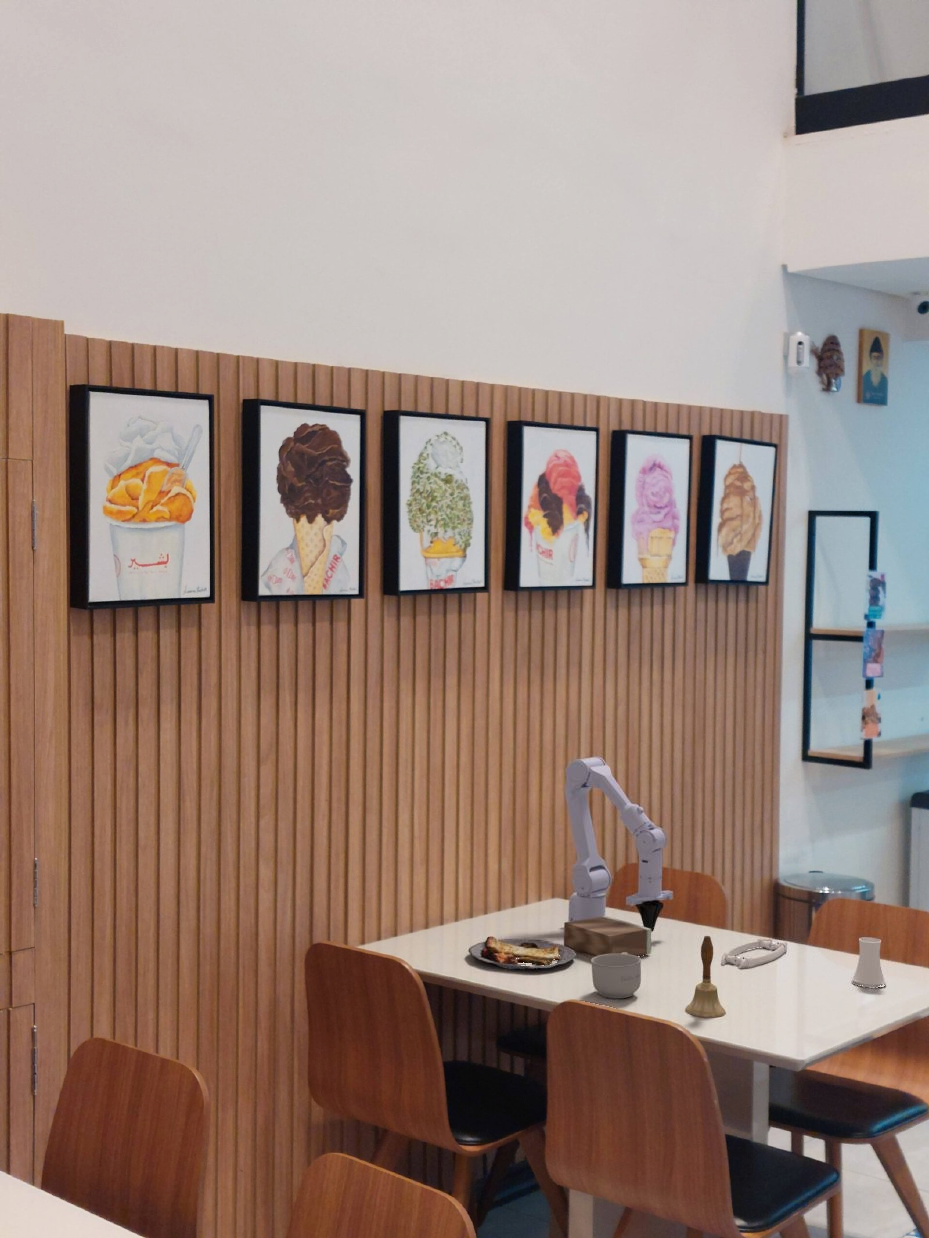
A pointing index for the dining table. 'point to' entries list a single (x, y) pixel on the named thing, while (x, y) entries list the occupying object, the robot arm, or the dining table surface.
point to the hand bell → (706, 988)
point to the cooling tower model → (869, 964)
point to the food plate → (521, 953)
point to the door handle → (751, 962)
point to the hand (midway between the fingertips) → (648, 930)
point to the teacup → (616, 974)
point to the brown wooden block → (604, 937)
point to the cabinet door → (648, 931)
